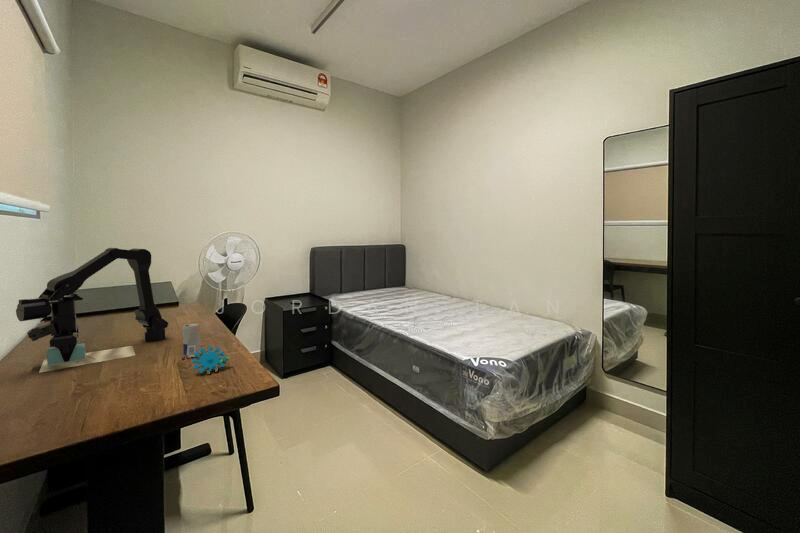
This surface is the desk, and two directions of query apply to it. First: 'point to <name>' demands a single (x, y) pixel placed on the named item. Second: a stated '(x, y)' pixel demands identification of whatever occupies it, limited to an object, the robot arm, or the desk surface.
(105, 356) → the board
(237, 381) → the desk surface
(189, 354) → the energy drink
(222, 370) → the desk surface
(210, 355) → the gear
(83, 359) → the sanding block
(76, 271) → the robot arm
